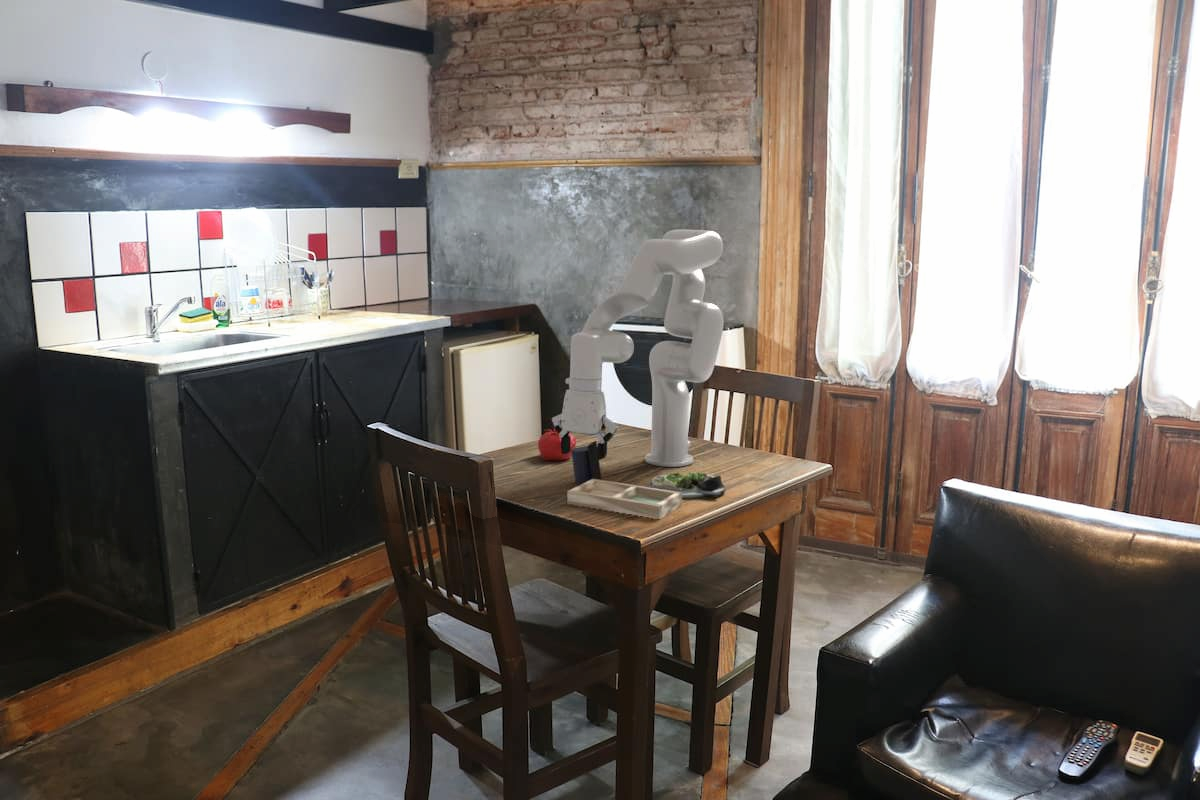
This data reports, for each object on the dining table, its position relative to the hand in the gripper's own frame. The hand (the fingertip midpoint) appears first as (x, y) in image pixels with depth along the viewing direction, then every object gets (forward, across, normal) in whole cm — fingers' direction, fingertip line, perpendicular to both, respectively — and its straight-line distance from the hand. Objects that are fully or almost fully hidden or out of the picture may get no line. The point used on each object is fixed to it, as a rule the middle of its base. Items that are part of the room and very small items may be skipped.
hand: (583, 455), depth 237 cm
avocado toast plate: (+7, +24, +9) cm, 27 cm away
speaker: (+7, 0, +1) cm, 7 cm away
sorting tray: (+7, +16, -10) cm, 20 cm away
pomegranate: (+7, -18, +18) cm, 26 cm away
